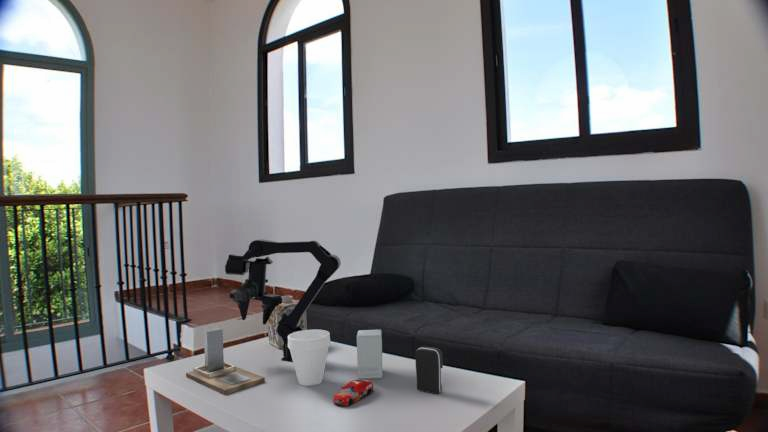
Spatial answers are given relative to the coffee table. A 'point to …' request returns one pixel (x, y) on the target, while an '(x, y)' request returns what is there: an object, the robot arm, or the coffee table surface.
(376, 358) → the supplement box
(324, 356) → the cup
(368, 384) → the race car
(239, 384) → the wooden board
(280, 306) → the decorative jar
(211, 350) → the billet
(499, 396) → the coffee table surface
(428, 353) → the battery charger
